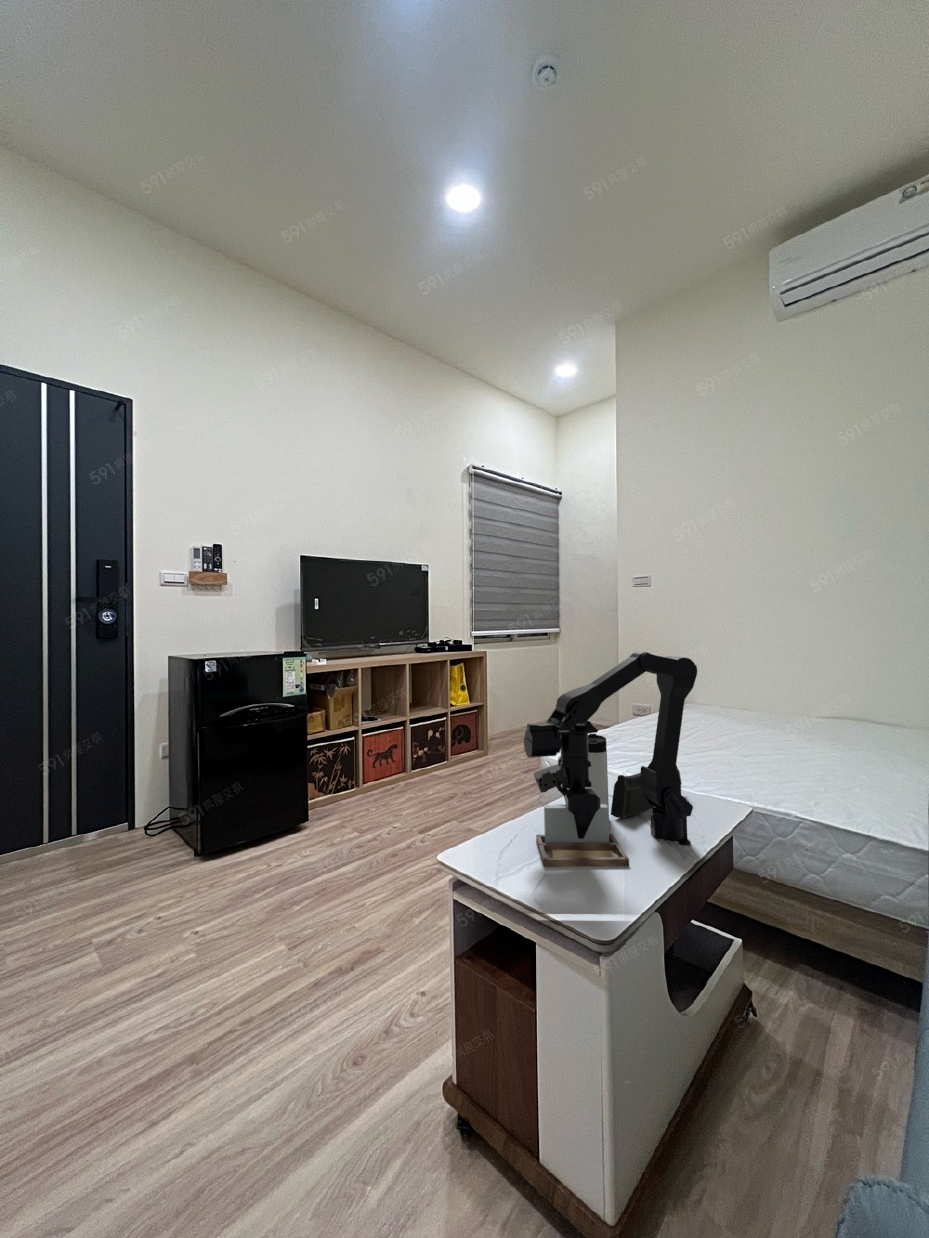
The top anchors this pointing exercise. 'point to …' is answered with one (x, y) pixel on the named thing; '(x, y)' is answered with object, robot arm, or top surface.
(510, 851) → the top surface
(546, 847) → the brown wooden tray
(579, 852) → the offcut top
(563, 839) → the gray rectangular panel
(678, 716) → the robot arm
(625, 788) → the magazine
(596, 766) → the travel mug
